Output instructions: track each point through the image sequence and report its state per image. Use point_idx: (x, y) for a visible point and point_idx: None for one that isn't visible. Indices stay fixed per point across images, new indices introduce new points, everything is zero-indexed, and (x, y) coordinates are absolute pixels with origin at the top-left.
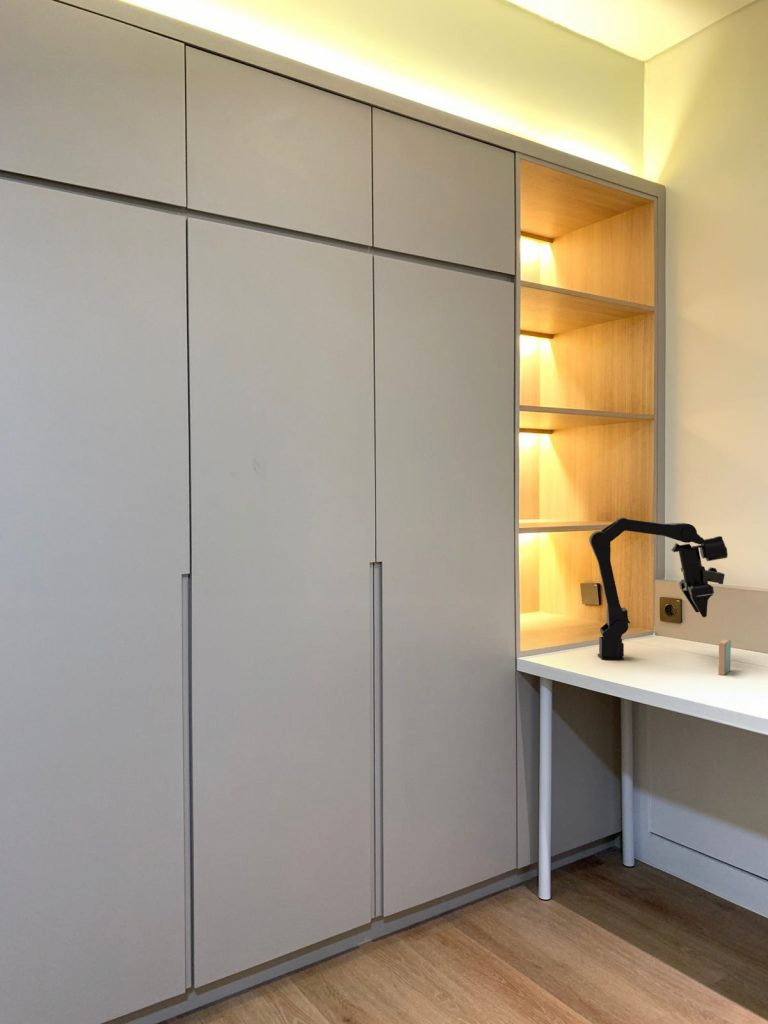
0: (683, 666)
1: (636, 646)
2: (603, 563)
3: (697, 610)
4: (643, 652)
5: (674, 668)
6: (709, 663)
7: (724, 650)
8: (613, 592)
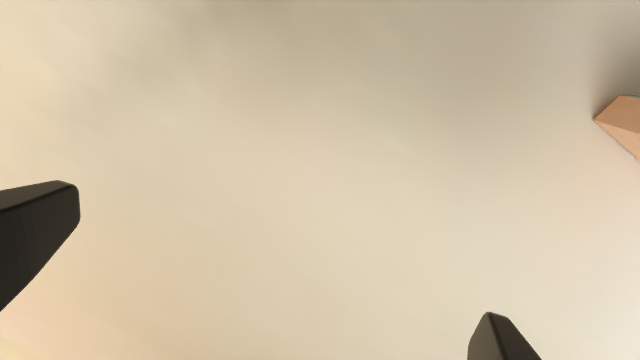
0: (452, 290)
1: None
2: None
3: (60, 216)
4: (136, 321)
5: None
6: (399, 115)
7: None
8: None
